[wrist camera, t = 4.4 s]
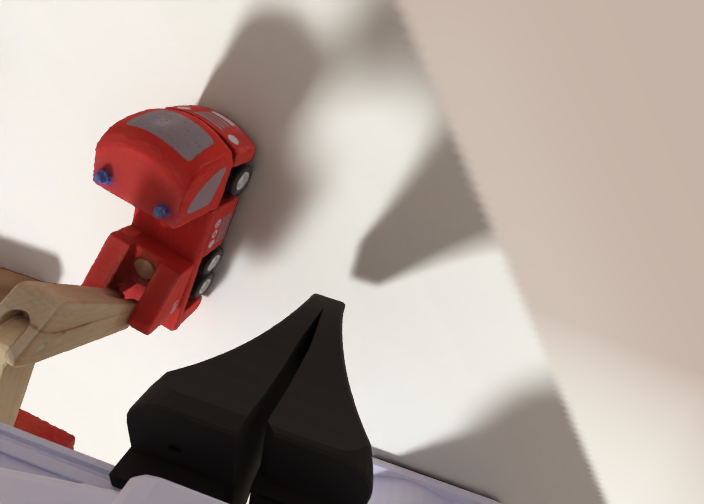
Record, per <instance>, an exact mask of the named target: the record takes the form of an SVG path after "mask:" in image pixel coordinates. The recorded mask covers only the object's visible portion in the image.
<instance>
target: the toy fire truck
mask: <svg viewBox="0 0 704 504" xmlns="http://www.w3.org/2000/svg"><path fill="white" fill-rule="evenodd" d="M95 150H96V156H95V163H94V171H93V172H94V174H93V176H94V177H93V181H94V182H95V183H96V184H97V185H99V186H101V187H103V188H104V189H106V190H107V191H109V192H111V193H112V194H115V195H116V196H118V197H119V198H121V199H123V200H125V201H126V202H128V203H130V204H132V205H133V206H134V207H135V212H134V218H133V222H132V225H130V226H127V227H124V228H122V229H120V230H118V231H115V232H112V233H111V234H110V235H109V236H108V238H107V240H106V241H105V243H104V245H103V247H102V249H101V251H100V253H99V255H98V257H97V258H96V260H95V262H94V264H93V265H92V267H91V269H90V271H89V272H88V274H87V276H86V278H85V280H84V282H83V284H82V285H81V286H78V285H68V284H56V283H45V282H37V281H24V282H21V283H19V284H18V285H16V286H15V287H14V288H13V289H12V290H11V292H10V293H9V294H8V295H7V296H6V297H5V298H4V300H3V301H2V302H1V303H0V422H2V423H4V424H7V425H9V426H12V427H15V428H17V429H20V430H22V431H25V432H28V433H30V434H33V435H35V436H38V437H41V438H43V439H46V440H48V441H51V442H54V443H56V444H59V445H62V446H64V447H67V448H69V449H72V450H73V449H74V447H73V446H74V443H75V437H74V436H73V435H71V434H69V433H67V432H66V431H64V430H62V429H59V428H57V427H56V426H52V425H51V424H49V423H48V422H46V421H43V420H41V419H39V418H38V417H36V416H34V415H31V414H30V413H28V412H26V411H23V410H21V409H20V406H21V403H22V401H23V398H24V395H25V392H26V389H27V386H28V383H29V379H30V376H31V373H32V370H33V368H34V365H35V363H36V362H39V361H41V360H44V359H46V358H49V357H52V356H55V355H57V354H60V353H62V352H65V351H69V350H71V349H74V348H76V347H79V346H82V345H84V344H87V343H90V342H92V341H95V340H98V339H101V338H103V337H105V336H108V335H111V334H113V333H116V332H118V331H121V330H124V329H126V328H128V327H129V326H131V327H133V328H135V329H136V330H138V331H140V332H142V333H143V334H146V335H149V334H150V333H152V332H153V331H154V330H155V329H156V328H157V327H158V326H160V325H163V326H164V327H166V328H168V329H169V330H171V331H173V330H176V329H177V328H178V327H179V326H180V324H181V323H182V322H184V320H185V319H186V318H187V317H188V316H190V315H191V314H192V313H193V312H194V311H195V310H196V309H197V307H198V306H199V304H200V302H201V299H202V296H201V295H202V294H203V293H204V292H205V291H206V290H207V288H208V287H209V286H210V284H211V282H212V280H213V274H212V273H210V272H211V270H213V269H214V268H215V266H216V265H217V264H218V262H219V261H220V259H221V256H222V253H223V251H222V249H220V248H219V247H217V246H219V245H221V244H222V242H223V240H224V237H225V234H226V232H227V229H228V226H229V224H230V220H231V218H232V217H233V213H234V210H235V207H236V205H237V202H238V196H237V194H239V193H240V192H241V191H242V190H243V189H244V188H245V187H246V186H247V184H248V182H249V180H250V178H251V175H252V167H251V166H250V165H249V164H248V162H249V161H250V160H251V159H252V158H253V156H254V154H255V146H254V144H253V143H252V141H251V140H250V139H249V138H248V136H247V135H246V134H245V133H244V132H243V131H242V130H241V129H240V128H239V127H238V126H237V125H235V124H234V123H233V122H232V121H231V120H229V119H228V118H226V117H224V116H223V115H221V114H219V113H217V112H215V111H213V110H211V109H208V108H205V107H201V106H195V105H188V106H174V107H166V108H165V109H148V110H145V111H141V112H138V113H136V114H133V115H130V116H127V117H126V118H124V119H122V120H120V121H118V122H117V123H115V124H114V125H113V126H111V127H110V128H109V129H108V130H107V132H106V133H105V134H104V135H103V136H102V137H101V139H100V141H99V142H98V143H97V147H96V149H95Z"/></svg>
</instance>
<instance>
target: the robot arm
mask: <svg viewBox="0 0 704 504" xmlns="http://www.w3.org/2000/svg"><path fill="white" fill-rule="evenodd" d="M344 309H345V304H344V303H343V302H340V301H337V300H334V299H331V298H328V297H325V296H322V295H319V294H313V295H312V296H311V297H310V298H309V299H308V300H307V301H306V302H305V303H304V304H302V305H301V306H300V307H299V308H298V309H297V310H295V311H294V312H293V313H291V314H290V315H289V316H288V317H286V318H285V319H284V320H282V321H281V322H279V323H278V324H276V325H275V326H273V327H272V328H271V329H269V330H268V331H266V332H264V333H263V334H261V335H259V336H258V337H256V338H254V339H252V340H250V341H249V342H247V343H245V344H243V345H241V346H239V347H237V348H235V349H233V350H230V351H228V352H226V353H224V354H221V355H218V356H216V357H213V358H211V359H208V360H206V361H203V362H200V363H197V364H194V365H191V366H187V367H184V368H180V369H177V370H173V371H170V372H166V373H165V374H164V375H163V376H162V377H161V378H160V379H159V380H157V381H156V382H155V383H154V384H153V385H152V386H151V387H150V388H149V389H148V390H147V391H146V392H145V393H144V394H143V395H142V396H141V397H140V398H139V400H138V401H137V402H136V403H135V404H134V405H133V406H132V407H131V408H130V410H129V411H128V413H127V426H128V431H129V437H130V442H131V448H130V449H129V450H128V451H127V453H126V454H125V455H124V456H123V457H122V459H121V460H120V461H119V462H118V463H117V465H116V466H114V465H111V464H108V463H106V462H103V461H101V460H98V459H95V458H93V457H90V456H88V455H85V454H82V453H80V452H77V451H75V450H72V449H69V448H67V447H64V446H62V445H59V444H56V443H54V442H51V441H48V440H46V439H43V438H41V437H38V436H35V435H33V434H30V433H28V432H25V431H22V430H20V429H17V428H15V427H12V426H9V425H7V424H4V423H2V422H0V504H246V502H247V500H248V497H249V495H250V500H249V504H501V503H499V502H497V501H495V500H492V499H489V498H486V497H484V496H481V495H478V494H475V493H472V492H469V491H467V490H464V489H461V488H458V487H455V486H453V485H450V484H447V483H444V482H441V481H439V480H436V479H433V478H430V477H427V476H424V475H422V474H419V473H416V472H413V471H410V470H408V469H405V468H402V467H399V466H396V465H394V464H391V463H388V462H385V461H382V460H380V459H377V458H374V457H372V451H371V444H370V442H369V439H368V437H367V435H366V433H365V430H364V428H363V425H362V423H361V420H360V417H359V415H358V412H357V409H356V406H355V403H354V399H353V396H352V393H351V389H350V385H349V381H348V377H347V372H346V367H345V360H344V352H343V342H342V319H343V312H344ZM250 492H251V493H250Z"/></svg>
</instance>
